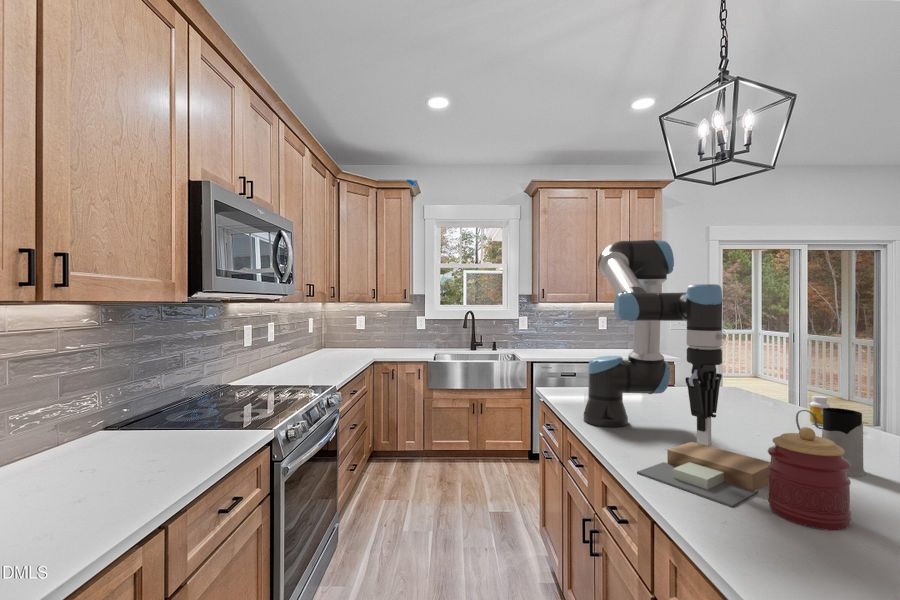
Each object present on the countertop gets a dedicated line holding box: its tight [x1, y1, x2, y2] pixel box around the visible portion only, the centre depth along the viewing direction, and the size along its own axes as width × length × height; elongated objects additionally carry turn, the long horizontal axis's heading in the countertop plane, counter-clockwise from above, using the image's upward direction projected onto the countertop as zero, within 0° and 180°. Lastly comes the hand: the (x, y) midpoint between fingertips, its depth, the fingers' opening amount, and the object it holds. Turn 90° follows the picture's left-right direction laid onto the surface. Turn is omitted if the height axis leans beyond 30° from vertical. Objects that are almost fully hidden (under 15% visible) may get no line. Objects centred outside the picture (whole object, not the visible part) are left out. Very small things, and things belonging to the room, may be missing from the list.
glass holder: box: [795, 407, 867, 478], centre depth 115 cm, size 9×14×15 cm, turn 32°
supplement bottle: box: [809, 395, 831, 427], centre depth 154 cm, size 5×5×10 cm
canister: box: [767, 426, 852, 531], centre depth 88 cm, size 13×13×18 cm
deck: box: [666, 441, 771, 491], centre depth 111 cm, size 20×12×4 cm, turn 33°
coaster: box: [673, 462, 724, 489], centre depth 105 cm, size 8×8×2 cm
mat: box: [636, 461, 759, 508], centre depth 104 cm, size 22×12×1 cm, turn 33°
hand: (703, 443), depth 107 cm, fingers closed
